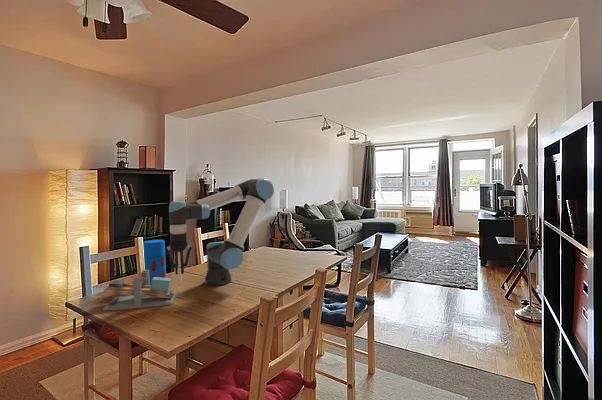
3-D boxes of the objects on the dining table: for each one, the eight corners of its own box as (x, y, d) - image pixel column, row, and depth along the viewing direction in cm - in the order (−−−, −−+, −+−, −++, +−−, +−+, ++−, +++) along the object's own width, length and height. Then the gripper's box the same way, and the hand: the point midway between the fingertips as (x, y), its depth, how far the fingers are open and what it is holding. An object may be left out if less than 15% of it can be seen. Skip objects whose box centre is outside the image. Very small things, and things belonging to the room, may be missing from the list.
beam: (172, 290, 164) (174, 274, 163) (167, 298, 152) (170, 280, 152) (112, 285, 158) (115, 268, 158) (102, 293, 146) (105, 275, 146)
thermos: (170, 283, 185) (168, 239, 184) (156, 288, 175) (154, 243, 174) (155, 281, 188) (153, 239, 187) (140, 287, 178) (139, 242, 177)
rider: (169, 290, 160) (171, 278, 159) (167, 293, 155) (169, 280, 155) (152, 288, 158) (154, 276, 158) (150, 291, 154) (151, 279, 154)
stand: (177, 293, 166) (176, 267, 166) (171, 304, 150) (170, 276, 150) (116, 298, 160) (114, 271, 160) (102, 310, 144) (101, 281, 144)
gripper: (193, 231, 162) (194, 277, 163) (165, 232, 160) (167, 279, 161) (191, 233, 155) (192, 281, 156) (162, 234, 152) (164, 283, 153)
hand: (180, 280), depth 158 cm, fingers closed
